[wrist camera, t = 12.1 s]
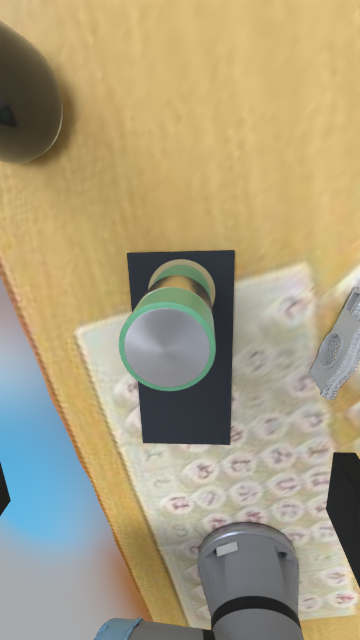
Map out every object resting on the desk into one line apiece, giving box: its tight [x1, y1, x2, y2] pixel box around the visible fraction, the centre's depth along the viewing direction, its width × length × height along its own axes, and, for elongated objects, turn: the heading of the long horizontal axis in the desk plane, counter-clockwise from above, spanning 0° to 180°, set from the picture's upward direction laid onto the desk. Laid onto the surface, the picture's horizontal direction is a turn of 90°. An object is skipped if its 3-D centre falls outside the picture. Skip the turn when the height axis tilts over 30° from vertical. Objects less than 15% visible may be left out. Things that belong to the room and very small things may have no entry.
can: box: [119, 265, 216, 391], centre depth 28 cm, size 16×7×7 cm
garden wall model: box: [309, 288, 360, 400], centre depth 34 cm, size 12×2×6 cm, turn 162°
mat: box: [127, 250, 235, 445], centre depth 39 cm, size 26×12×1 cm, turn 2°
